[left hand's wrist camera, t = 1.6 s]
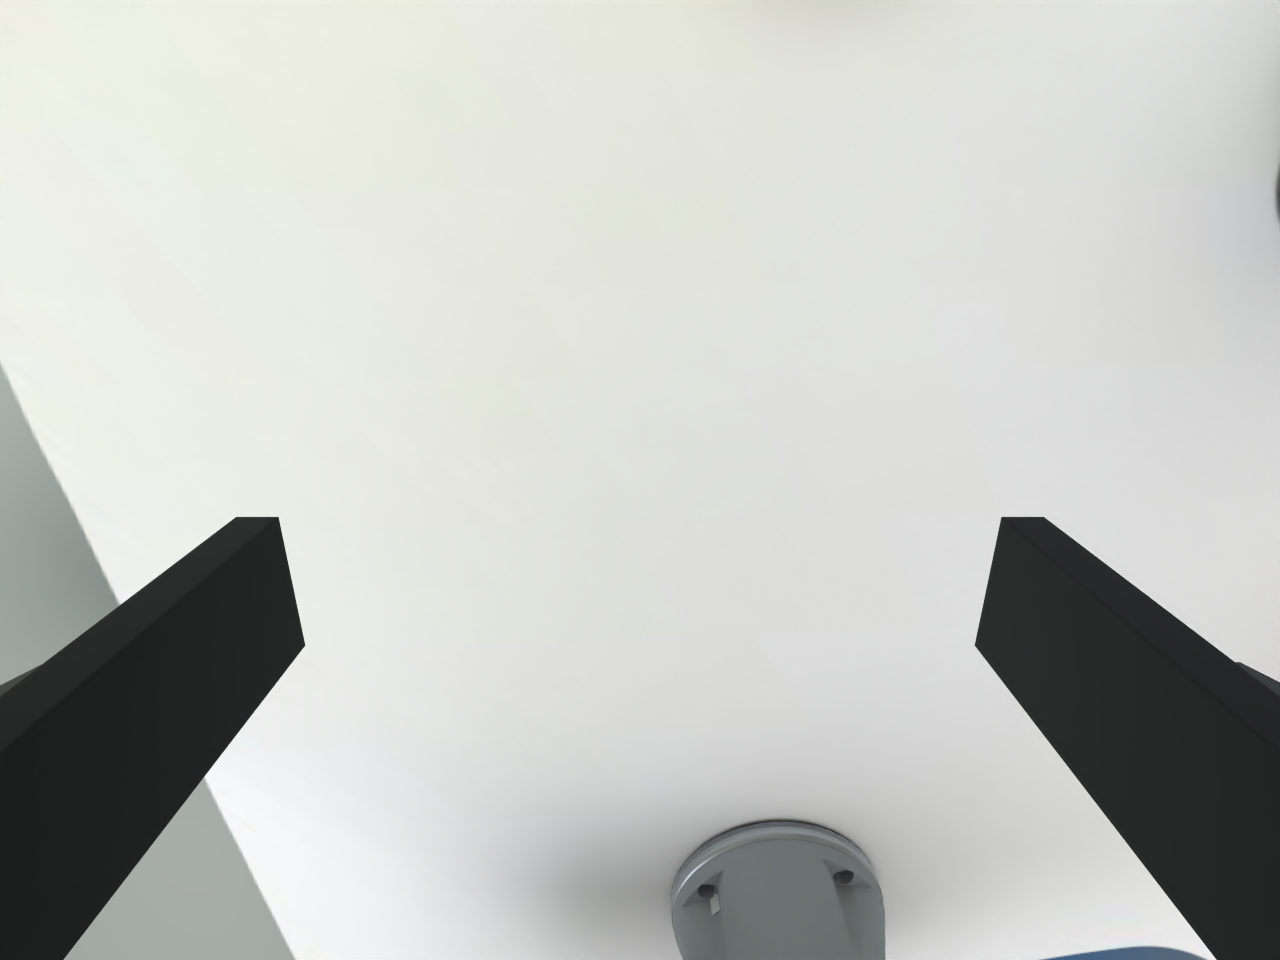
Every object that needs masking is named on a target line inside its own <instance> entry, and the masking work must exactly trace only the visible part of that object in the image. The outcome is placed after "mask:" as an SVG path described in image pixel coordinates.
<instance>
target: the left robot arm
mask: <svg viewBox="0 0 1280 960" xmlns="http://www.w3.org/2000/svg"><path fill="white" fill-rule="evenodd" d="M304 646H305V642H304V637H303V633H302V628H301V623H300V618H299V613H298V609H297V604H296V599H295V594H294V589H293V585H292V580H291V575H290V570H289V565H288V561H287V556H286V551H285V546H284V541H283V537H282V532H281V527H280V522H279V517H236V518H234V519H233V520H232V521H230V522H229V523H228V524H226V525H225V526H224V527H223V528H221V529H220V530H219V531H217V532H216V533H215V534H213V535H212V536H211V537H209V538H208V539H207V540H205V541H204V542H203V543H201V544H200V545H199V546H198V547H196V548H195V549H194V550H192V551H191V552H190V553H188V554H187V555H186V556H184V557H183V558H182V559H180V560H179V561H178V562H176V563H175V564H174V565H173V566H171V567H170V568H169V569H167V570H166V571H165V572H163V573H162V574H161V575H159V576H158V577H157V578H155V579H154V580H153V581H151V582H150V583H149V584H148V585H146V586H145V587H144V588H142V589H141V590H140V591H138V592H137V593H136V594H134V595H133V596H132V597H130V598H129V599H128V600H126V601H125V602H124V603H122V604H121V605H120V606H119V607H117V608H116V609H115V610H113V611H112V612H111V613H109V614H108V615H107V616H105V617H104V618H103V619H101V620H100V621H99V622H97V623H96V624H95V625H94V626H92V627H91V628H90V629H88V630H87V631H86V632H84V633H83V634H82V635H80V636H79V637H78V638H77V639H75V640H74V641H72V642H71V643H70V644H69V645H67V646H66V647H65V648H63V649H62V650H61V651H59V652H58V653H57V654H55V655H54V656H53V657H51V658H50V659H49V660H47V661H46V662H45V663H44V664H42V665H40V666H38V667H36V668H34V669H32V670H30V671H28V672H26V673H24V674H22V675H20V676H18V677H16V678H14V679H12V680H10V681H8V682H6V683H4V684H2V685H0V960H63V959H64V958H65V957H66V956H67V954H68V953H69V952H70V950H71V949H72V948H73V946H74V945H75V944H76V942H77V941H78V940H79V939H80V937H81V936H82V935H83V933H84V932H85V931H86V929H87V928H88V927H89V926H90V924H91V923H92V922H93V920H94V919H95V918H96V916H97V915H98V914H99V913H100V911H101V910H102V909H103V907H104V906H105V905H106V904H107V902H108V901H109V900H110V898H111V897H112V896H113V894H114V893H115V892H116V891H117V889H118V888H119V887H120V885H121V884H122V883H123V881H124V880H125V879H126V877H127V876H128V875H129V874H130V872H131V871H132V870H133V868H134V867H135V866H136V865H137V863H138V862H139V861H140V859H141V858H142V857H143V855H144V854H145V853H146V852H147V850H148V849H149V848H150V846H151V845H152V844H153V842H154V841H155V840H156V839H157V837H158V836H159V835H160V833H161V832H162V831H163V829H164V828H165V827H166V826H167V824H168V823H169V822H170V820H171V819H172V818H173V816H174V815H175V814H176V813H177V811H178V810H179V809H180V807H181V806H182V805H183V803H184V802H185V801H186V800H187V798H188V797H189V796H190V794H191V793H192V792H193V790H194V789H195V788H196V787H197V785H198V784H199V783H200V781H201V780H202V779H203V778H204V776H205V775H206V774H207V772H208V771H209V770H210V768H211V767H212V766H213V765H214V763H215V762H216V761H217V759H218V758H219V757H220V755H221V754H222V753H223V752H224V750H225V749H226V748H227V746H228V745H229V744H230V742H231V741H232V740H233V739H234V737H235V736H236V735H237V733H238V732H239V731H240V729H241V728H242V727H243V726H244V724H245V723H246V722H247V720H248V719H249V718H250V716H251V715H252V714H253V713H254V711H255V710H256V709H257V707H258V706H259V705H260V703H261V702H262V701H263V700H264V698H265V697H266V696H267V694H268V693H269V692H270V690H271V689H272V688H273V687H274V685H275V684H276V683H277V681H278V680H279V679H280V677H281V676H282V675H283V674H284V672H285V671H286V670H287V668H288V667H289V666H290V664H291V663H292V662H293V661H294V659H295V658H296V657H297V655H298V654H299V653H300V651H301V650H302V649H303V648H304ZM975 646H976V648H977V649H978V650H979V651H980V653H981V654H982V655H983V657H984V658H985V659H986V661H987V662H988V663H989V664H990V666H991V667H992V668H993V670H994V671H995V672H996V674H997V675H998V676H999V677H1000V679H1001V680H1002V681H1003V683H1004V684H1005V685H1006V687H1007V688H1008V689H1009V690H1010V692H1011V693H1012V694H1013V696H1014V697H1015V698H1016V700H1017V701H1018V702H1019V703H1020V705H1021V706H1022V707H1023V709H1024V710H1025V711H1026V713H1027V714H1028V715H1029V716H1030V718H1031V719H1032V720H1033V722H1034V723H1035V724H1036V726H1037V727H1038V728H1039V729H1040V731H1041V732H1042V733H1043V735H1044V736H1045V737H1046V739H1047V740H1048V741H1049V742H1050V744H1051V745H1052V746H1053V748H1054V749H1055V750H1056V752H1057V753H1058V754H1059V755H1060V757H1061V758H1062V759H1063V761H1064V762H1065V763H1066V765H1067V766H1068V767H1069V768H1070V770H1071V771H1072V772H1073V774H1074V775H1075V776H1076V778H1077V779H1078V780H1079V781H1080V783H1081V784H1082V785H1083V787H1084V788H1085V789H1086V790H1087V792H1088V793H1089V794H1090V796H1091V797H1092V798H1093V800H1094V801H1095V802H1096V803H1097V805H1098V806H1099V807H1100V809H1101V810H1102V811H1103V813H1104V814H1105V815H1106V816H1107V818H1108V819H1109V820H1110V822H1111V823H1112V824H1113V826H1114V827H1115V828H1116V829H1117V831H1118V832H1119V833H1120V835H1121V836H1122V837H1123V839H1124V840H1125V841H1126V842H1127V844H1128V845H1129V846H1130V848H1131V849H1132V850H1133V852H1134V853H1135V854H1136V855H1137V857H1138V858H1139V859H1140V861H1141V862H1142V863H1143V865H1144V866H1145V867H1146V868H1147V870H1148V871H1149V872H1150V874H1151V875H1152V876H1153V878H1154V879H1155V880H1156V881H1157V883H1158V884H1159V885H1160V887H1161V888H1162V889H1163V891H1164V892H1165V893H1166V894H1167V896H1168V897H1169V898H1170V900H1171V901H1172V902H1173V904H1174V905H1175V906H1176V907H1177V909H1178V910H1179V911H1180V913H1181V914H1182V915H1183V917H1184V918H1185V919H1186V920H1187V922H1188V923H1189V924H1190V926H1191V927H1192V928H1193V930H1194V931H1195V932H1196V933H1197V935H1198V936H1199V937H1200V939H1201V940H1202V941H1203V943H1204V944H1205V945H1206V946H1207V948H1208V949H1209V950H1210V952H1211V953H1212V954H1213V956H1214V957H1215V958H1216V959H1217V960H1280V682H1278V681H1276V680H1274V679H1272V678H1270V677H1268V676H1266V675H1264V674H1262V673H1260V672H1258V671H1256V670H1254V669H1252V668H1250V667H1248V666H1246V665H1244V664H1242V663H1240V662H1234V661H1233V660H1231V659H1230V658H1229V657H1227V656H1226V655H1225V654H1223V653H1222V652H1221V651H1219V650H1218V649H1217V648H1215V647H1214V646H1213V645H1211V644H1210V643H1209V642H1208V641H1206V640H1205V639H1204V638H1202V637H1201V636H1200V635H1198V634H1197V633H1196V632H1194V631H1193V630H1192V629H1190V628H1189V627H1188V626H1186V625H1185V624H1184V623H1183V622H1181V621H1180V620H1179V619H1177V618H1176V617H1175V616H1173V615H1172V614H1171V613H1169V612H1168V611H1167V610H1165V609H1164V608H1163V607H1161V606H1160V605H1159V604H1158V603H1156V602H1155V601H1154V600H1152V599H1151V598H1150V597H1148V596H1147V595H1146V594H1144V593H1143V592H1142V591H1140V590H1139V589H1138V588H1136V587H1135V586H1134V585H1132V584H1131V583H1130V582H1129V581H1127V580H1126V579H1125V578H1123V577H1122V576H1121V575H1119V574H1118V573H1117V572H1115V571H1114V570H1113V569H1111V568H1110V567H1109V566H1107V565H1106V564H1105V563H1104V562H1102V561H1101V560H1100V559H1098V558H1097V557H1096V556H1094V555H1093V554H1092V553H1090V552H1089V551H1088V550H1086V549H1085V548H1084V547H1082V546H1081V545H1080V544H1079V543H1077V542H1076V541H1075V540H1073V539H1072V538H1071V537H1069V536H1068V535H1067V534H1065V533H1064V532H1063V531H1061V530H1060V529H1059V528H1057V527H1056V526H1055V525H1054V524H1052V523H1051V522H1050V521H1048V520H1047V519H1046V518H1044V517H1001V522H1000V527H999V532H998V537H997V541H996V546H995V551H994V556H993V561H992V565H991V570H990V575H989V580H988V585H987V589H986V594H985V599H984V604H983V609H982V613H981V618H980V623H979V628H978V633H977V637H976V642H975ZM671 907H672V923H673V929H674V933H675V938H676V942H677V944H678V947H679V950H680V953H681V955H682V958H683V960H885V911H884V905H883V898H882V894H881V890H880V887H879V884H878V881H877V878H876V876H875V873H874V870H873V868H872V866H871V864H870V862H869V860H868V859H867V858H866V856H865V855H864V854H863V853H862V852H861V850H860V849H859V848H858V847H856V846H855V845H854V844H853V843H852V842H850V841H849V840H847V839H846V838H844V837H842V836H840V835H838V834H837V833H834V832H832V831H830V830H827V829H824V828H821V827H818V826H814V825H810V824H804V823H797V822H766V823H759V824H753V825H748V826H744V827H741V828H737V829H734V830H732V831H729V832H726V833H724V834H722V835H720V836H718V837H716V838H714V839H712V840H711V841H709V842H707V843H706V844H704V845H703V846H702V847H700V848H699V849H698V850H697V851H696V852H694V853H693V854H692V855H691V856H690V857H689V858H688V859H687V861H686V862H685V863H684V865H683V866H682V867H681V869H680V871H679V872H678V874H677V876H676V879H675V881H674V884H673V888H672V894H671Z"/></svg>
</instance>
